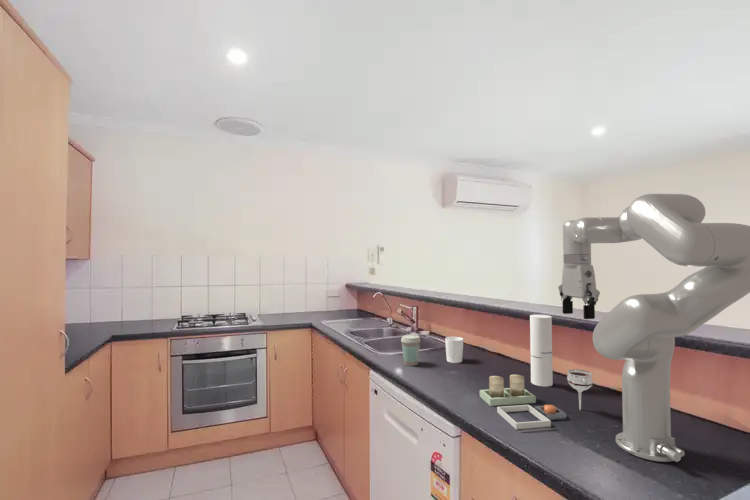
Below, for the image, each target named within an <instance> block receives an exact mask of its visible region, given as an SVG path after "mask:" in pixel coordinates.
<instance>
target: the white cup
mask: <svg viewBox="0 0 750 500" xmlns="http://www.w3.org/2000/svg"><path fill="white" fill-rule="evenodd" d="M444 344H445V355H446V361H447V363H451V364H460V363H462V362H463V355H464V354H463V351H464V338H463V337H460V336H459V337H458V336H447V337H445V338H444Z"/></svg>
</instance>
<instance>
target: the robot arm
mask: <svg viewBox="0 0 750 500" xmlns="http://www.w3.org/2000/svg"><path fill="white" fill-rule="evenodd" d="M705 217H706V207H705V205H704V203H703V202H702V201H701V200H700V199H699V198H697V197H695V196H692V195H689V194H684V193H683V194H682V193H648V194H643V195H640V196H638V197H636V198H635V199H634V200H633V201H631V203H630V204H629V205H628V206H627V207H625V208H624V209H623V210H622V212H621V213H620V216H615V217H610V216H609V217H608V216H607V217H606V216H605V217H604V216H603V217H602V216H601V217H600V216H598V217H591V216H590V217H587V216H586V217H581V218H578V219H575V220H574V219H573V220H567V221H564V223H563V225H562V240H563V241H562V242H563V243H562V245H563V246H562V248H563V249H562V250H563V256H562V257H563V265H562V267H563V268H562V276H561V284H560V285H558V292H559V296H560V300H561V301H562V303H561V305H562V314H565V315H569V314H573V313H574V306H573V305H574V304H573V300H572V299H573V298H577V299H582V302H583V303H584V305H583V309H582V310H583V319H584V320H594V319H595V317H596V313H595V312H596V311H595V310H596V309H595V308H596V307H595V306H597V303H598V300H599V297H600V294H601V292H600V291H599V289H597V283H596V282H597V281H596V275H595V273H596V272H595V269H594V266H593V265H592V244H620V243H629V242H634V241H639V240H644V241H645V242H646V243H647V244H648V245H649V246H651V247H652V248H653V249H654V250H655V251H657V252H658V253H659V254H660V255H661V256H662V257H663V258H664V259H666V260H667V261H669V262H671V263H673V264H675V265H678V266H682V267H688V268H689V267H690V268H691V267H692V268H695V267H696V268H697V267H703V268H702V269H699V270H698V271H695V272H693V273H692V274H690V275H688V276H687V277H685V278H684V279H683V280H682V281H680V282H679V283H678V284H676V285H675V286H674V287H673V288H671V289H669V290H668V291H666V292H660V293H644V294H635V295H631V296H627V297H626V298H624V299H623V300H621V301H619V303H618V304H617V305H615V306H614V307H613V308H612V309H611V310H610V311H609V312H608V313H607V314H606V315H605V316H604V317H602V318H601V320H600V321H598V323H597V324H596V326H595V327H594V329H593V332H592V344H593V348H594V349H595V350H596V352H597V353H598V354H599V355H600V356H602V357H604V358H606V359H608V360H614V361H623V360H625V362H624V364H623V366H622V373H621V386H622V388H621V390H622V391H621V398H622V402H621V403H622V432H619V433H617V434H616V435H615V443H616V444H617V445H618V446H619V447H620V448H622V449H623V450H624V451H626V452H627V453H628V452H629V454H631V455H632V456H635V457H638V458H641V459H643V460H648V461H652V462H660V463H670V462H676V463H677V462H679V461H681V459H682V457H684V456H685V453H686V452H685V451H684V450H683V449H681V448H679V447H677V446H676V438H675V437H672V433H671V432H672V431H671V429H672V428H671V427H672V423H671V418H672V417H671V366H672V359H673V356H674V351H675V346H676V345H675V344H676V339H675V337H677V338H678V337H682V336H687V335H689V334H691V333H692V332H695V331H696V330H697V329H699V328H700V327H701V326H702V325H705V323H707V322H708V321H710V320H712V319H713V318H715V317H716V316H717V315H719V314H720V313H722V312H723V311H724V310H725V309H727V308H728V307H730V306H731V305H734V304H735V303H736V302H738V301H739V300H741V299H742V298H744V297H745V296H747V295H749V294H750V225H749V224H742V223H734V222H703V221H704V219H705Z"/></svg>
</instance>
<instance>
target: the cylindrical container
mask: <svg viewBox="0 0 750 500" xmlns="http://www.w3.org/2000/svg"><path fill="white" fill-rule="evenodd" d="M552 321H553V319H552V316H551V315H549V314H530V315H529V328H530V329H529V330H530V332H529V334H530V335H529V343H530V344H529V345H530V350H529V351H530V383H531V384H532V385H535V386H538V387H544V388H545V387H552V386H553V382H554V380H553V373H554V372H553V328H552V327H553V322H552Z"/></svg>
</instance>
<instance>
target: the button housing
mask: <svg viewBox="0 0 750 500" xmlns="http://www.w3.org/2000/svg"><path fill="white" fill-rule="evenodd" d="M552 405H553V406H555V405H554V404H552ZM555 407H556V413H547V412H545V411H544V405H537V406H536V405H535V406H534V409H535V410H537V411H538V412H539V413H541V414H542V415H544V416H545V417H546V418H548V419H549V420H550V421H558V420H559V421H560V420H567V413H566V412H564V410H562V409H560V408H559V407H557V406H555Z"/></svg>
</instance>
